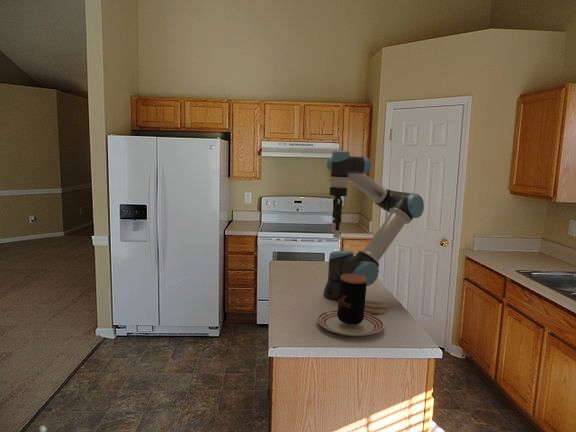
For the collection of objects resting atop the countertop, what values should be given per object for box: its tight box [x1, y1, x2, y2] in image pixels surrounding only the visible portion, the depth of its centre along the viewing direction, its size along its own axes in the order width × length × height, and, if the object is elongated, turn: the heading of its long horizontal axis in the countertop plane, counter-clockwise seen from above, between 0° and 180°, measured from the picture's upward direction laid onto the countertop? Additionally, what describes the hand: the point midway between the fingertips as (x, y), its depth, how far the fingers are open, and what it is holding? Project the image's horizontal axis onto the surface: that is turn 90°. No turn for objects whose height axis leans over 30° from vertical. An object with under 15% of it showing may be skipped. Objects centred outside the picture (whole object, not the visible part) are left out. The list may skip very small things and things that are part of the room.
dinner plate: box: [316, 308, 385, 337], centre depth 164 cm, size 28×27×3 cm
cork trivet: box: [364, 300, 389, 315], centre depth 187 cm, size 16×16×1 cm
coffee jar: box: [337, 274, 367, 324], centre depth 163 cm, size 11×11×18 cm
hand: (335, 234), depth 177 cm, fingers open, 13 cm apart
